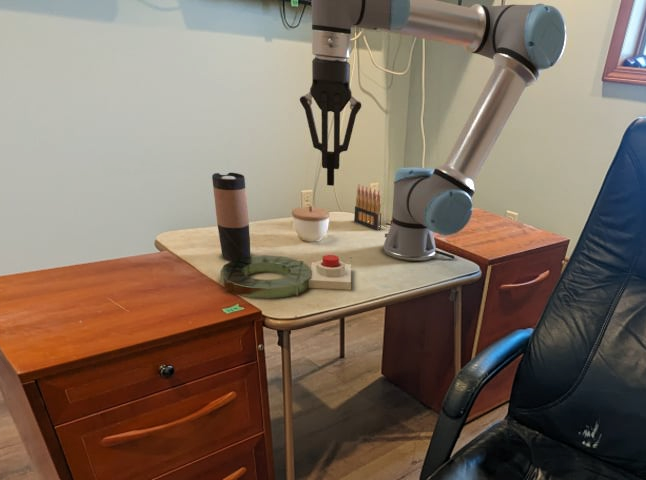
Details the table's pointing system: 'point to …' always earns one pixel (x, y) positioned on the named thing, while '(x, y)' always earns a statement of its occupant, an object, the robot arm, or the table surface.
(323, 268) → the switch box
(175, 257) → the table surface
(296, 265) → the ring
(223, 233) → the travel mug
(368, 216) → the ammunition clip
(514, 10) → the robot arm
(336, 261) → the switch button
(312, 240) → the trinket box
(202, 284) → the table surface
